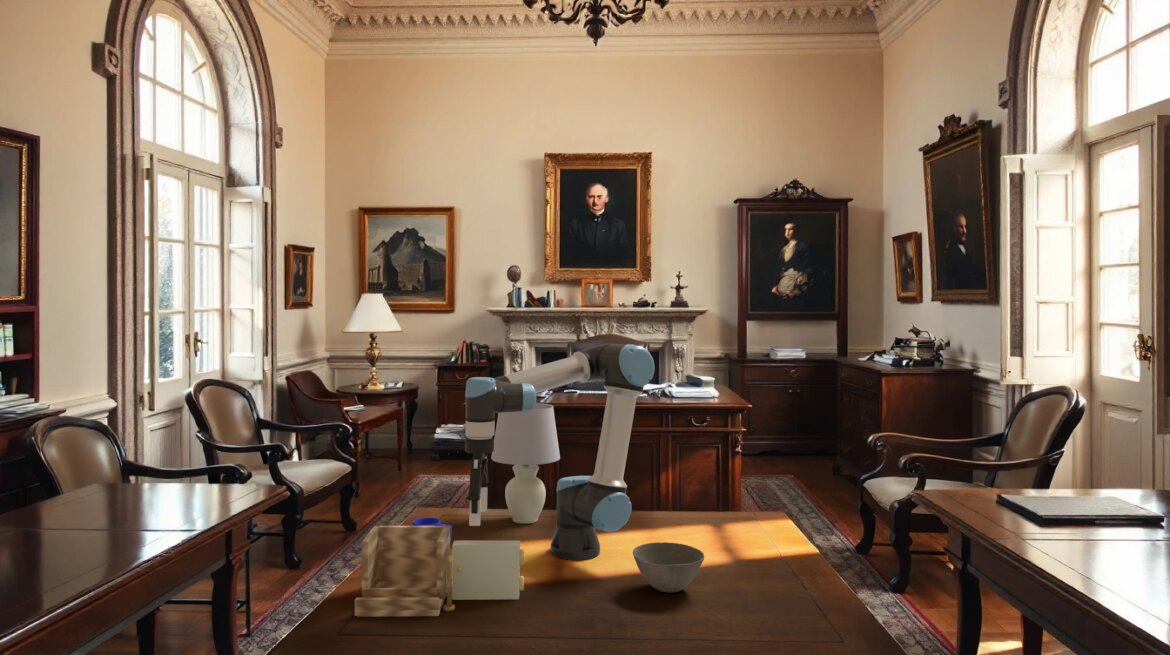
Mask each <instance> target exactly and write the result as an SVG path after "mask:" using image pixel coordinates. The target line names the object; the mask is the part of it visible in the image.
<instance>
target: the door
mask: <svg viewBox="0 0 1170 655" xmlns="http://www.w3.org/2000/svg"><path fill="white" fill-rule="evenodd" d="M451 546H452V601H453V600H454V601H455V600H456V601H457V600H461V601H462V600H463V601H464V600H469V601H470V600H471V601H472V600H479V601H481V600H482V601H483V600H484V601H485V600H519V599H520V591H524V590H525V576H523V575H521V574H520V573H521V571H520V570H521V569H520V568H521V565H520V564H524V563H525V549H524V548H523V549H521V540H454V541H453V543H452V545H451Z"/></svg>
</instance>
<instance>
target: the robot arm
mask: <svg viewBox="0 0 1170 655" xmlns="http://www.w3.org/2000/svg"><path fill="white" fill-rule="evenodd" d="M655 369H656V368H655V362H654V358H653V356H652V355H651V353H650V351H649V350H648V349H647V348H645V347H643V346H640V345H636V344H630V343H628V344H627V343H613V342H610V343H601V344H597V345H594V346H590V347H587V348H585V349H582V350H577V351H575V352H573V354H572V355H571V356H569V357H566V358H562V359H558V360H554V361H552V362H548V363H545V364H541V365H538V366H537V365H536V366H533V367H530V368H527V369H523V370H519V371H516V372H512V373H509V374H505V375H501V376H497V377H495V378H493V377H487V376H475V377H470V378H468V379H467V380H466V383H465V384H466V385H465V394H464V397H465V423H464V424H463V425H462V427H463V428H465V432H464V435H465V436H466V437H465V439H464V452H465V453H467V454H470V455H471V454H472V455H473V457H472V459H471V460H470V474H469V485H468V486H469V487H468V496H466V501H469V515H468V517H469V518H468V520H469V522H468V526H470V527H471V526H472V527H481V514H482V513H487V512H488V487H491V482H489V481H490V480H489V468H488V467H489V466H488V461H489V459H488V454H489V455H490V454H492V452H493V451H494V437H495V432H496V427H495V426H496V424H495V421H496V420H495V416H496V415H495V414H498V413H503V412H523V411H529V410H531V409H533V408H534V406H535V404H536V403H537V394H538V393H542V392H545V391H548V390H552V389H555V388H558V387H563V386H565V385H568V384H572V383H575V382H580V383H582V384H583V383H584V384H585V383H587V382H590V381H592V382H593V381H602V382H604V384H603V388H604V389H605V391H606V392H607V396H606V402H605V407H604V413H603V420H602V425H601V426H602V427H601V432H600V436H599V437H600V438H599V444H598V450H597V455H596V461H595V468H594V472H593V474H592V475H573V476H567V477H566V476H565V477H562V478H560V479H559V480H557V485H556V528H555V530H554V533H553V536H552V539H551V543H550V551H549V552H550V554H551V555H552V556H554V557H556V558H558V559H559V558H560V559H562V560H563V559H565V560H573V561H574V560H575V561H576V560H577V561H578V560H587V559H589V560H590V559H592V558H594V557H595V558H596V557H598V556H599V555H600V553H601V544H600V540H599V537H598V533H597V530H598V531H602V532H605V533H607V532H608V533H612V532H613V533H614V532H616V531H619V530H620V529H622V527H624V526H625V525H626V524H627V522H628V521H629V520H630V517H631V514H632V502H631V500H630V497H629V496H628V495H627V490H628V489H627V488H628V485H627V483H626V482H625V481H624V474H625V469H626V464H627V463H626V462H627V458H628V451H629V444H630V439H631V433H632V428H633V422H634V416H635V410H636V404H637V403H636V402H637V399H638V397H640V396H642V394H643V391H644V387H645V386H646V385H648V384H649V383H650V381H652V379H653V377H654V374H655ZM493 436H494V437H493Z"/></svg>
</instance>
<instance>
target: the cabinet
mask: <svg viewBox="0 0 1170 655" xmlns="http://www.w3.org/2000/svg"><path fill="white" fill-rule="evenodd" d="M445 600H446V603H445V604H444V602H445ZM442 608H443V611H444V612H453V611H455V610H456V605H455V604H453V600H452V548H451V541H450V526H413V525H374V526H373V527H372V529H370V531H369V532H368V533H367V534H366V536H365V537H364V539H362V541H361V597H356V598H355V599H354V617H355V616H357V617H439V615H440V614H441V611H442Z"/></svg>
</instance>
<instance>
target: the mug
mask: <svg viewBox="0 0 1170 655" xmlns="http://www.w3.org/2000/svg"><path fill="white" fill-rule="evenodd" d="M412 526H450V542H451V540H452V531H453V526H452V525H451V524H444V523H441V520H440V518H437V517H420V518H416V519H414V520H412Z"/></svg>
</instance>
